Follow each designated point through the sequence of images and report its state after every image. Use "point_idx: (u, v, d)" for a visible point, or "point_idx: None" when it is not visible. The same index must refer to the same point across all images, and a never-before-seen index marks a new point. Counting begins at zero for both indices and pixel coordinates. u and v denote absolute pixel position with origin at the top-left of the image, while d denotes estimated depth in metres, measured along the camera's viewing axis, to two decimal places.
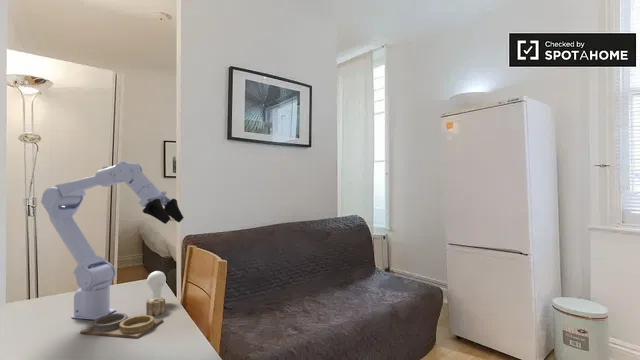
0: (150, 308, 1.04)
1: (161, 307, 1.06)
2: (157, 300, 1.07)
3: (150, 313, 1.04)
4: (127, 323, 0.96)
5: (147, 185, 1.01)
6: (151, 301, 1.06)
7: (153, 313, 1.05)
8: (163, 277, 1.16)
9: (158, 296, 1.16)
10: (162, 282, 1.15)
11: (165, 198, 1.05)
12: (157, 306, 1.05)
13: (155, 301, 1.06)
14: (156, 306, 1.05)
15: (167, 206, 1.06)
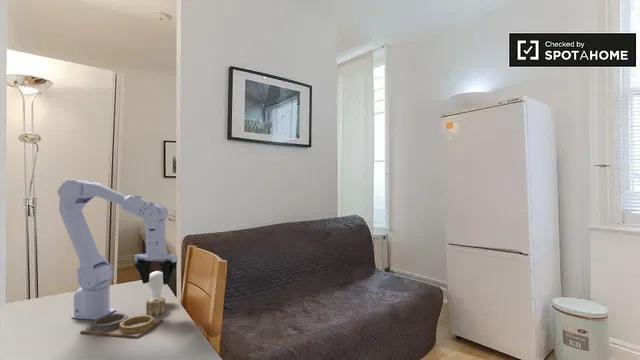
0: (150, 308, 1.04)
1: (161, 307, 1.06)
2: (157, 300, 1.07)
3: (150, 313, 1.04)
4: (127, 323, 0.96)
5: None
6: (151, 301, 1.06)
7: (153, 313, 1.05)
8: None
9: (158, 296, 1.16)
10: (162, 282, 1.15)
11: None
12: (157, 306, 1.05)
13: (155, 301, 1.06)
14: (156, 306, 1.05)
15: (145, 263, 1.08)
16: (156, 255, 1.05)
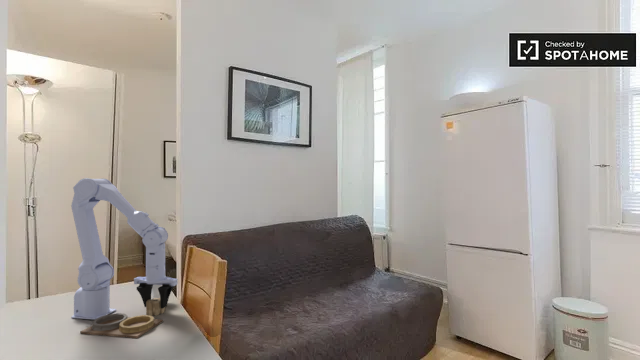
0: (150, 308, 1.04)
1: None
2: (157, 300, 1.07)
3: (150, 313, 1.04)
4: (127, 323, 0.96)
5: None
6: (151, 301, 1.06)
7: (153, 313, 1.05)
8: None
9: (158, 296, 1.16)
10: None
11: None
12: (157, 306, 1.05)
13: (155, 301, 1.06)
14: (156, 306, 1.05)
15: (147, 286, 1.07)
16: (156, 279, 1.05)
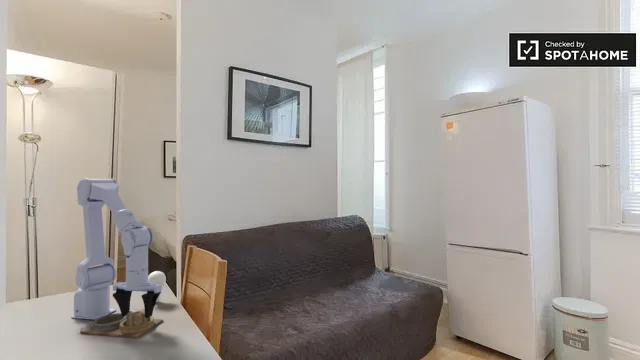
0: (130, 321, 0.93)
1: (143, 320, 0.94)
2: (139, 312, 0.95)
3: None
4: None
5: None
6: (132, 313, 0.94)
7: None
8: (163, 277, 1.16)
9: None
10: (162, 282, 1.15)
11: None
12: (138, 319, 0.93)
13: (136, 313, 0.94)
14: (137, 319, 0.93)
15: (125, 293, 0.96)
16: (137, 285, 0.93)
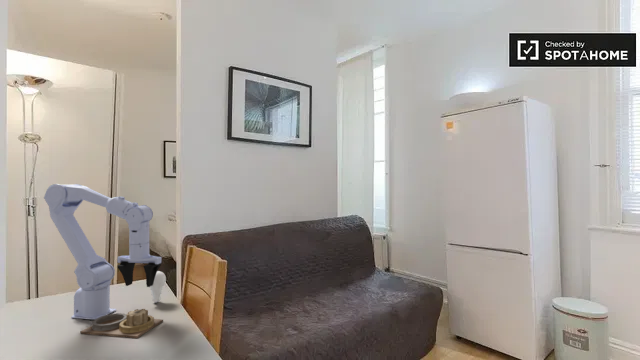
0: (130, 321, 0.93)
1: (143, 320, 0.94)
2: (139, 312, 0.95)
3: None
4: None
5: None
6: (132, 313, 0.94)
7: None
8: (163, 277, 1.16)
9: (158, 296, 1.16)
10: (162, 282, 1.15)
11: None
12: (138, 319, 0.93)
13: (136, 313, 0.94)
14: (137, 319, 0.93)
15: (129, 265, 1.06)
16: (139, 257, 1.03)
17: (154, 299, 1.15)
